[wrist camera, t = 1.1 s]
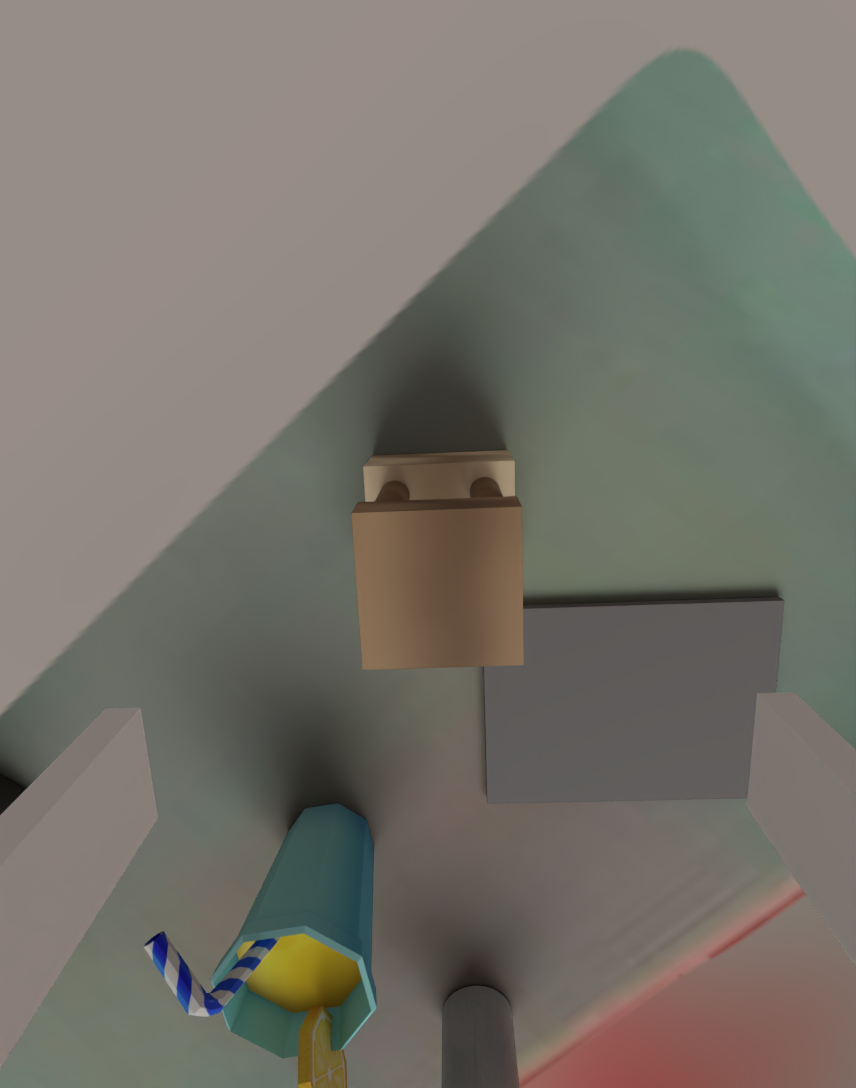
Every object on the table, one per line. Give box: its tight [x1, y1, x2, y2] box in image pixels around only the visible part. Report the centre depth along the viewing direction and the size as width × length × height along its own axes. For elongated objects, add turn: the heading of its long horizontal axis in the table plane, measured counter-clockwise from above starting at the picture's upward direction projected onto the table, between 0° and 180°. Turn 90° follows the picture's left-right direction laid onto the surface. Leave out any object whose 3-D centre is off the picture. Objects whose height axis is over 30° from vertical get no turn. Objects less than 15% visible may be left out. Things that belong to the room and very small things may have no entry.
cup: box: [144, 803, 377, 1088], centre depth 34 cm, size 14×8×15 cm, turn 34°
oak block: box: [363, 450, 515, 502], centre depth 35 cm, size 7×7×4 cm
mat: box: [484, 597, 784, 804], centre depth 39 cm, size 16×12×1 cm
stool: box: [351, 477, 524, 670], centre depth 29 cm, size 6×6×8 cm
